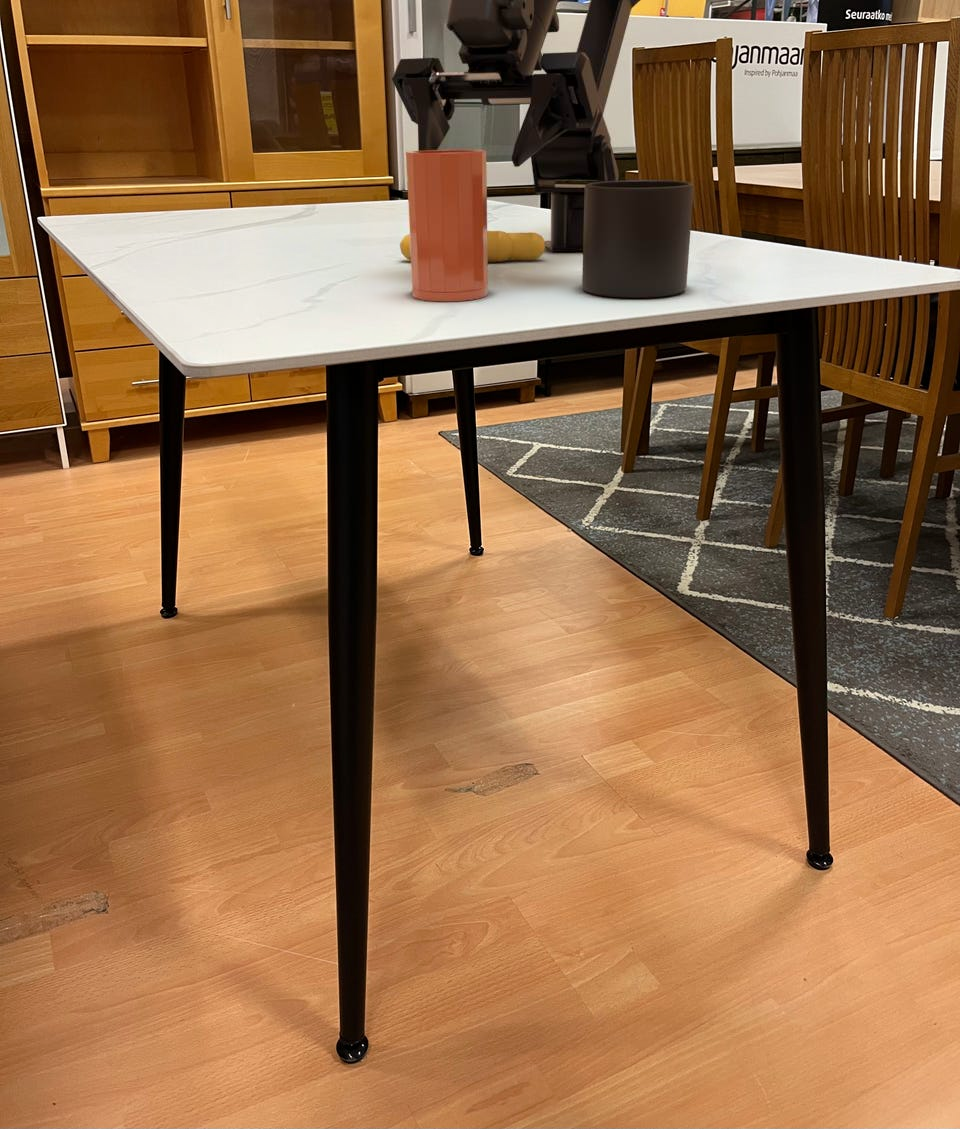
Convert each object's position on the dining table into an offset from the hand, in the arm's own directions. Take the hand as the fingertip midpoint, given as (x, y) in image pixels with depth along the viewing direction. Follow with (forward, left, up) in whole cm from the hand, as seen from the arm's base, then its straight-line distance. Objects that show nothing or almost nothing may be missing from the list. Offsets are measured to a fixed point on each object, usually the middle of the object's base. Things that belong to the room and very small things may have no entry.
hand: (467, 162), depth 86 cm
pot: (+4, -2, -11) cm, 12 cm away
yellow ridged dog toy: (-16, +2, -11) cm, 20 cm away
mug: (+3, +15, -11) cm, 19 cm away
